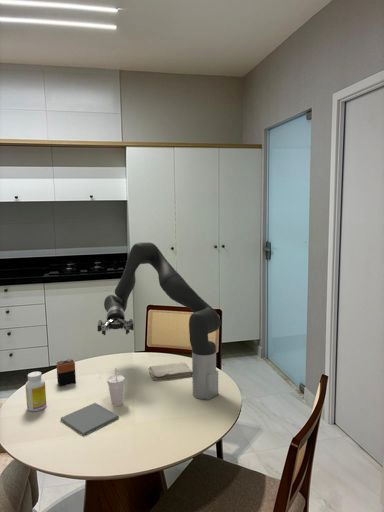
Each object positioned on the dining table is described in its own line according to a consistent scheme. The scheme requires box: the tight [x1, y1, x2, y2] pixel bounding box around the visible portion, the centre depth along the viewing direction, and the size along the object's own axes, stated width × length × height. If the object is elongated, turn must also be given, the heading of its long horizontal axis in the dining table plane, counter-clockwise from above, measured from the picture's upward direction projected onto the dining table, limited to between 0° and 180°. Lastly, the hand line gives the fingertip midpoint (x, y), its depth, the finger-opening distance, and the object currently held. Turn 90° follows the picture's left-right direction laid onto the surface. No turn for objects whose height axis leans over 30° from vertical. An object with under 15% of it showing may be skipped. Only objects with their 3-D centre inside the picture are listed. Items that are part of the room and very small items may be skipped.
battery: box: [56, 358, 77, 387], centre depth 164 cm, size 4×7×10 cm, turn 118°
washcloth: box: [148, 362, 192, 381], centre depth 173 cm, size 12×18×3 cm, turn 106°
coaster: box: [60, 402, 119, 437], centre depth 136 cm, size 14×14×1 cm
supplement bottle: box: [25, 371, 47, 412], centre depth 144 cm, size 7×7×13 cm
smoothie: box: [106, 367, 125, 407], centre depth 146 cm, size 6×6×14 cm
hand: (115, 332), depth 153 cm, fingers open, 8 cm apart
